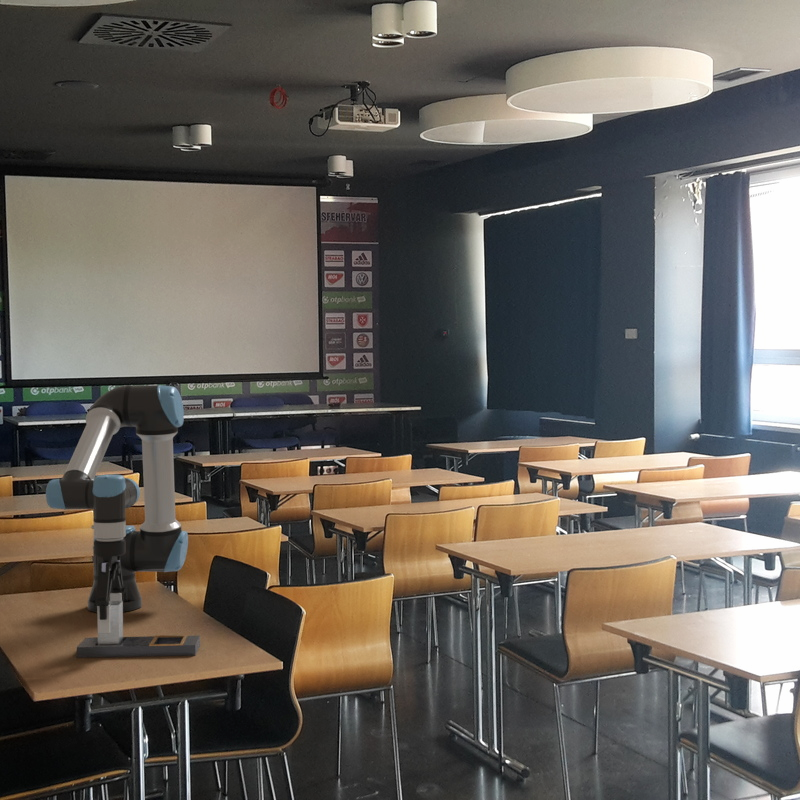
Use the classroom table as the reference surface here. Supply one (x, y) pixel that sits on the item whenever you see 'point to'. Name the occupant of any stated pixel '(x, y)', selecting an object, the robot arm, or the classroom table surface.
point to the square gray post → (113, 625)
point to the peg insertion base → (141, 646)
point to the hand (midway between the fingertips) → (110, 625)
